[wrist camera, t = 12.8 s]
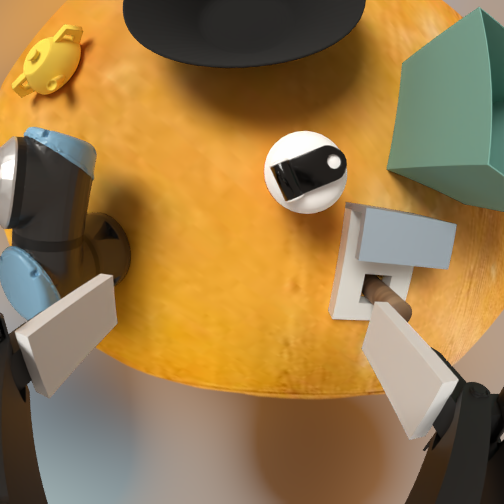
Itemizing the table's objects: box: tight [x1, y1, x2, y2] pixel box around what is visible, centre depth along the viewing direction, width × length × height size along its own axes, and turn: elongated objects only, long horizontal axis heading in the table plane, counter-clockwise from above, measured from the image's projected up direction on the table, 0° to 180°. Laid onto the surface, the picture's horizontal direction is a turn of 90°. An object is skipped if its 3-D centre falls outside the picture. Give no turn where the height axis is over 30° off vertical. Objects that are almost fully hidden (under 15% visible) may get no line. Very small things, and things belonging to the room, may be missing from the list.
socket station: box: [328, 202, 457, 320], centre depth 41 cm, size 16×20×12 cm
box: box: [387, 7, 504, 212], centre depth 28 cm, size 23×21×26 cm
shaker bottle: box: [264, 131, 347, 214], centre depth 35 cm, size 9×9×20 cm
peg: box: [362, 274, 412, 323], centre depth 42 cm, size 4×4×14 cm
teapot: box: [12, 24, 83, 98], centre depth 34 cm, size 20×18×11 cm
